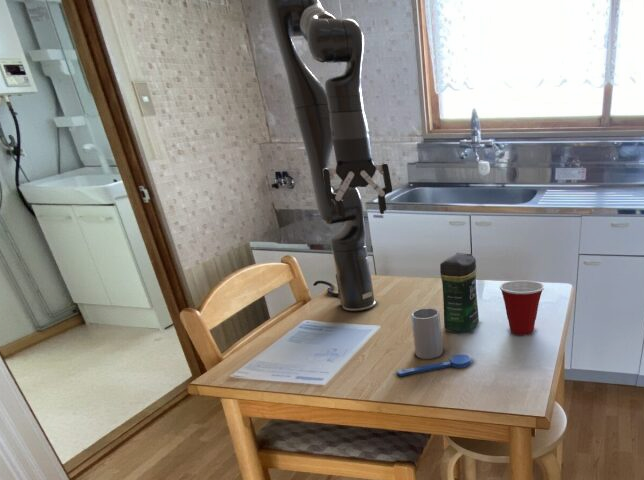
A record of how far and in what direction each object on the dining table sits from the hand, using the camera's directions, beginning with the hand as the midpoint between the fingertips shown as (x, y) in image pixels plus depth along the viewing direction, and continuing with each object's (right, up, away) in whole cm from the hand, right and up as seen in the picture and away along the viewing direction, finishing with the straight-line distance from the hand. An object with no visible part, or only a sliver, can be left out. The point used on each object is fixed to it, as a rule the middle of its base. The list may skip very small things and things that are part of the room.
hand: (362, 215), depth 116 cm
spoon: (+17, -34, -1) cm, 38 cm away
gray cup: (+14, -30, +6) cm, 34 cm away
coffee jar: (+22, -23, +18) cm, 36 cm away
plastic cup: (+37, -24, +14) cm, 46 cm away
